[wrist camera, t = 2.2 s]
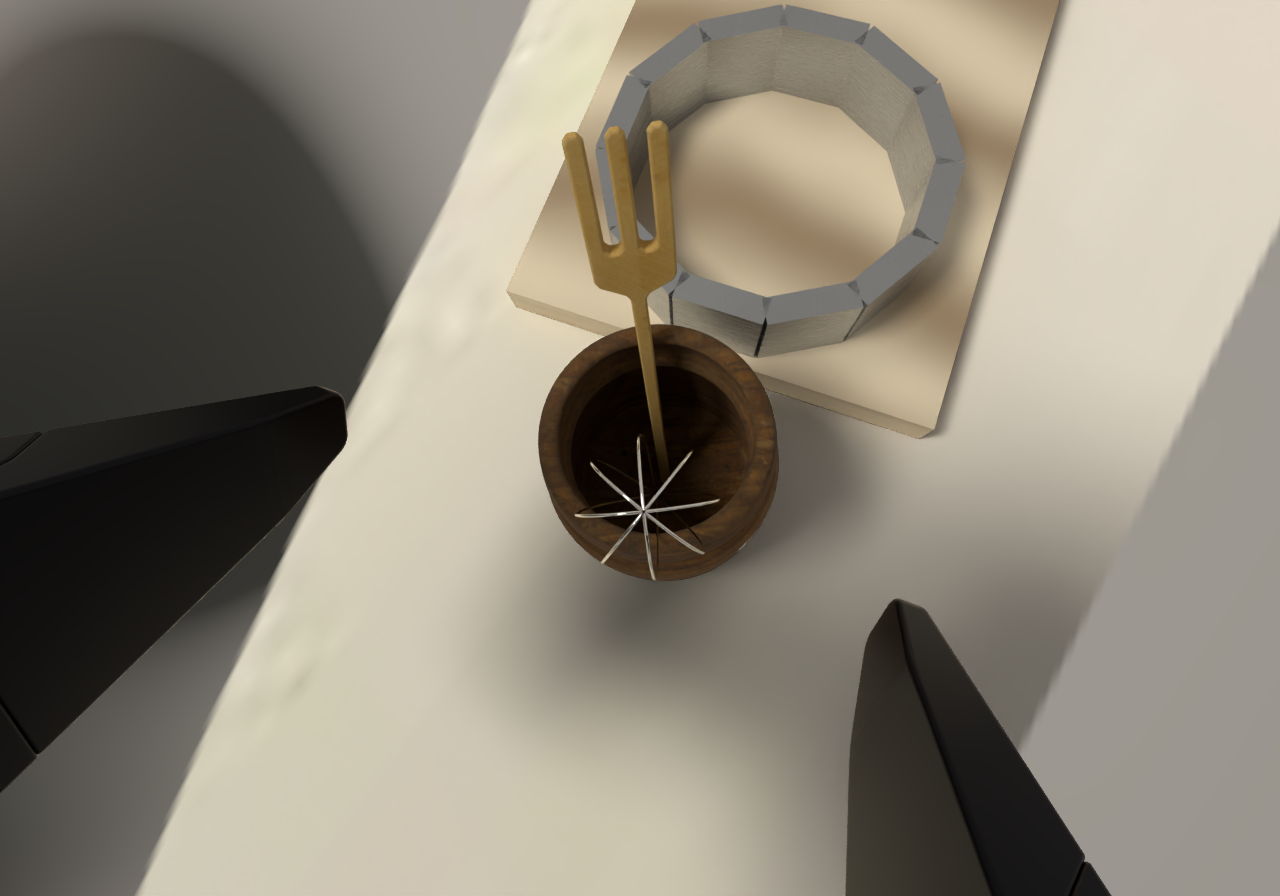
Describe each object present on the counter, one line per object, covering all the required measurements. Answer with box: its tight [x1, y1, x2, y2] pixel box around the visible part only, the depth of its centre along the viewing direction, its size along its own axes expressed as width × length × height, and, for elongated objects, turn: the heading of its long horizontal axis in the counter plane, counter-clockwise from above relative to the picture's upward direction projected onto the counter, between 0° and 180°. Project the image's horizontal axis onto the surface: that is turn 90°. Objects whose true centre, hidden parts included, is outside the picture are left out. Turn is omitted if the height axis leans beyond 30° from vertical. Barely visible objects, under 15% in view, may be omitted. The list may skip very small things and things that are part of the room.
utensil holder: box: [538, 120, 779, 581], centre depth 14 cm, size 6×6×12 cm
